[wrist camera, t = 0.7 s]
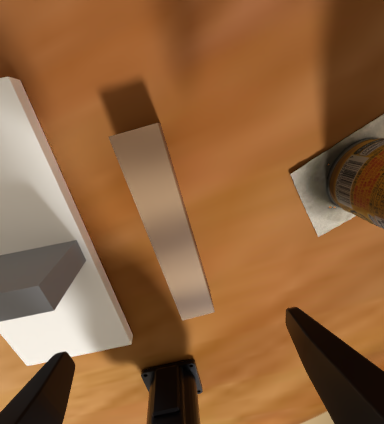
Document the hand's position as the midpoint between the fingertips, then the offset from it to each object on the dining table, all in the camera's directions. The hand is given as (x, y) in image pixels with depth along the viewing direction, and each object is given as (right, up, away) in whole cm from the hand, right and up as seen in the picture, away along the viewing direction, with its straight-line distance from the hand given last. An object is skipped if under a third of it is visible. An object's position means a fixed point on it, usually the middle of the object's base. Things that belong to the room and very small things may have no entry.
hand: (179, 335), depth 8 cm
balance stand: (-13, +1, +9) cm, 16 cm away
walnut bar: (-1, +4, +10) cm, 10 cm away
